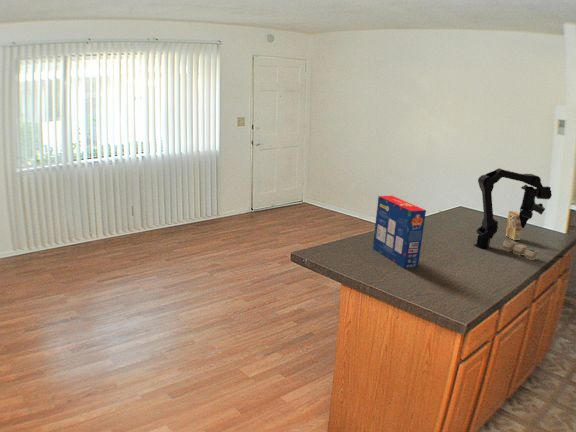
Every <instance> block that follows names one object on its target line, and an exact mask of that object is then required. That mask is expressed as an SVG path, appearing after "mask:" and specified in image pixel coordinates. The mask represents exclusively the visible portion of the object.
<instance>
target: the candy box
mask: <svg viewBox="0 0 576 432" xmlns="http://www.w3.org/2000/svg"><path fill="white" fill-rule="evenodd" d="M519 213H520V212H517V211H515V210H511V211H510V210H509V211H508V213H507V214H508V215H507V222H506V230H505V231H506V232H505V237H506V236H508V237H509V238H508V237H507V238H508V239H510V238H511V239H513V240H520V241H521V236H522V235H521V234H522V229H523V228H522V227H521V222H520V217H519ZM511 239H510V240H511ZM513 240H512V241H513Z"/></svg>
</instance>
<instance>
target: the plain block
mask: <svg viewBox="0 0 576 432" xmlns="http://www.w3.org/2000/svg"><path fill="white" fill-rule="evenodd" d="M526 249H528V247H527V246H526V245H522V244H516V245H514V250H513V251H512V253H513V252H514V253H517V254H520V255H521V254H525V250H526ZM514 253H513V254H514Z"/></svg>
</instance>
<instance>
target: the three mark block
mask: <svg viewBox="0 0 576 432" xmlns="http://www.w3.org/2000/svg"><path fill="white" fill-rule="evenodd" d="M539 253H540V251H539V250H537V249H533V248H527V249H526V250H525V255H523V257H524V256H526V257H528V258H531V259H533V258H539Z"/></svg>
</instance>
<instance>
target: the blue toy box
mask: <svg viewBox="0 0 576 432" xmlns="http://www.w3.org/2000/svg"><path fill="white" fill-rule="evenodd" d="M376 208H377V209H376V216H375V224H374V225H375V226H374V234H373V241H372V250H374V251H376V252H377V253H379V254H380V255H382V256H384V258H385V257H386V258H387V259H388V260H389V261H391V262H393V263H394V264H396V265H397V266H399V267H401V268H402V269H412V268H413V269H414V268H419V262H420V257H421V256H420V255H421V248H422V240H423V233H424V227H425V219H426V213H427V210H426V209H424V208H422V207H419V206H417V205H414V204H413V203H410V202H409V201H406V200H403V199H401V198H398V197H396V196H394V195H378V198H377V206H376Z"/></svg>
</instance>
